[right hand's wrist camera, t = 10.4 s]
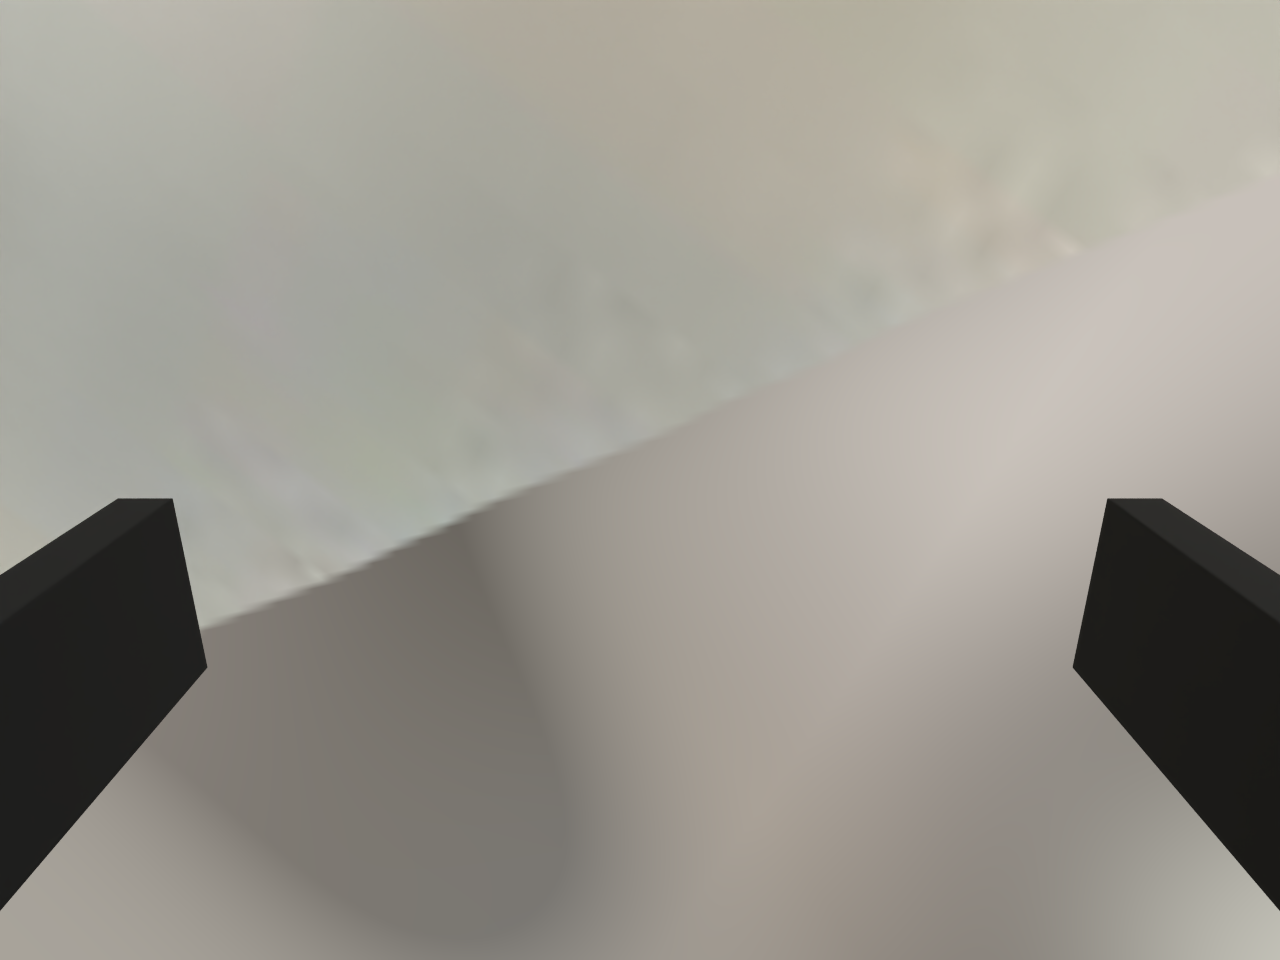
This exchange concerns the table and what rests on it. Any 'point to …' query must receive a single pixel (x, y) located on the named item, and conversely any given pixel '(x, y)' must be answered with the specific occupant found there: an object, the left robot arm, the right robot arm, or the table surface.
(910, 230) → the table surface
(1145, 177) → the table surface
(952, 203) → the table surface
